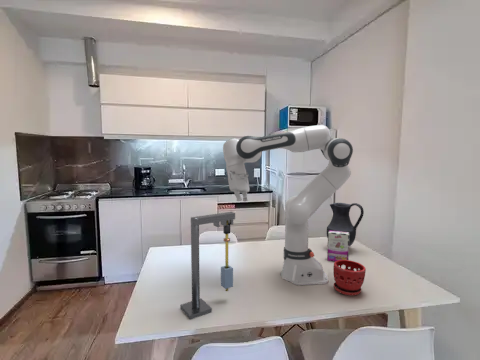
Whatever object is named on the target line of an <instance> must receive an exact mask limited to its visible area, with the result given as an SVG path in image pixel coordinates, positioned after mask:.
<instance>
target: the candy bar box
mask: <svg viewBox="0 0 480 360" xmlns="http://www.w3.org/2000/svg"><path fill="white" fill-rule="evenodd" d="M349 252H350V247H349V232H340V231H329V232H328V238H327V259H326V260H327V261H328V262H333V263H334V262H335V261H337V260H349V258H350V256H349V254H350V253H349Z"/></svg>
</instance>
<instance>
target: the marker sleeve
mask: <svg viewBox="0 0 480 360" xmlns="http://www.w3.org/2000/svg"><path fill="white" fill-rule="evenodd" d="M220 287H222V288H224V289H227V288H228V289H230V288H233V287H234V267H233V266H231V265H230V264H228V268H227V269H226V268H225V265H223V266H220Z"/></svg>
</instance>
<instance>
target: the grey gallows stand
mask: <svg viewBox="0 0 480 360" xmlns="http://www.w3.org/2000/svg"><path fill="white" fill-rule="evenodd" d="M234 220H236V213H235V212H233V211H227V212H220V213H214V214H213V213H212V214H205V215H199V216H197V215H196V216H191V217H190V253H191V254H190V255H191V256H190V261H191V263H190V264H191V270H190V271H191V272H190V273H191V301H188V302H184V303H181V304H180V307H179V308H180V310H181V311H182V312H183V314H185V315H186V317H187V318H188V319H189V320H193V319H195V318H200V317H201V316H204V315H207V314H210V313H212V312H213V308H212V307H211V306H210V305H209V304H208V303H207V302H206V301H205V300H203V298H201V296H200V295H201V292H200V291H201V290H200V281H201V280H200V279H201V278H200V225H207V224H213V226H215V227H216V228H219V227H220V225H221V226H223V227H222V229H223V234H224V236H225V237H224V238H223V242H225V243H224V244H225V248H224V249H225V252H224V253H225V255H224V257H225V259H224V260H225V265H224V266H225V268H226V269H227V268H228V265H229V242H230V241H231V238H230V237H229V234H231V225H234ZM224 289H225V288H224ZM224 291H225V292H229V288H227V289H225V290H224Z"/></svg>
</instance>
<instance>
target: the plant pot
mask: <svg viewBox="0 0 480 360" xmlns="http://www.w3.org/2000/svg"><path fill="white" fill-rule="evenodd" d="M343 266H345V268H342V267H343ZM354 269H355V270H354ZM366 269H367V268H366V267H365V265H363V264H362V263H360V262H357V261H355V260H337V261H335V262H333V269H332V270H333V279H334V282H333V288H334V289H335V291H337V292H338V293H340V294H342V295H345V296H358V295H359V294H360V293H361V292H362V286H363V284H364V281H365V278H366Z"/></svg>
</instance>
